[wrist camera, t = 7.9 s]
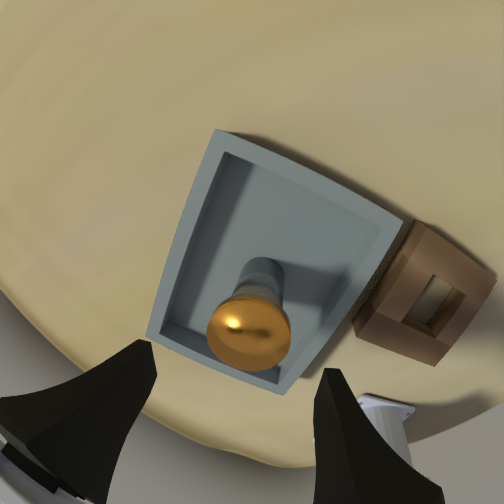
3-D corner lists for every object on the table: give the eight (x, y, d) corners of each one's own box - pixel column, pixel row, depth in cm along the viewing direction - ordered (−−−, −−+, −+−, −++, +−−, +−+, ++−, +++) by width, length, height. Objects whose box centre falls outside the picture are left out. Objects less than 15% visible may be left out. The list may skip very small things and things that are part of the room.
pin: (276, 310, 20) (268, 380, 13) (225, 288, 20) (196, 351, 13) (302, 265, 18) (306, 326, 12) (247, 239, 18) (223, 290, 12)
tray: (284, 375, 23) (283, 395, 21) (157, 319, 23) (145, 336, 20) (390, 212, 17) (403, 221, 15) (225, 131, 17) (215, 128, 14)
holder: (427, 352, 20) (434, 366, 19) (351, 321, 20) (356, 337, 18) (485, 270, 17) (497, 280, 15) (415, 219, 17) (427, 227, 15)
